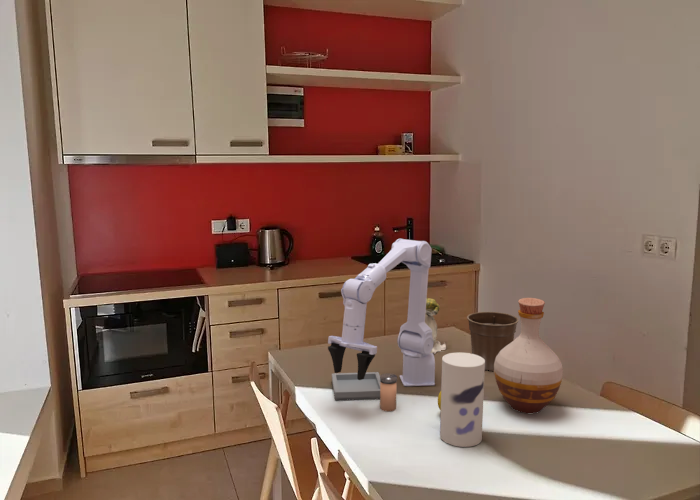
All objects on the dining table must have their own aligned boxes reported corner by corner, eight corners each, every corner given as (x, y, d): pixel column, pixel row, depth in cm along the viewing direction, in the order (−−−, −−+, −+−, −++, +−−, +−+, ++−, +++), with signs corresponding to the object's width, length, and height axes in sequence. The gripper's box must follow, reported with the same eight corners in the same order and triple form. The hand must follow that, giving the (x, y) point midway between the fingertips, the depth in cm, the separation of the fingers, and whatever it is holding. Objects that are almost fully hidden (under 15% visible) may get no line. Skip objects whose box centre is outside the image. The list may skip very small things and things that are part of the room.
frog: (403, 348, 203) (404, 299, 200) (425, 341, 212) (426, 293, 209) (429, 356, 195) (430, 305, 192) (450, 348, 204) (452, 298, 201)
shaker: (395, 404, 156) (395, 373, 155) (397, 411, 152) (398, 379, 150) (378, 404, 156) (378, 373, 154) (380, 412, 151) (381, 380, 150)
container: (457, 451, 131) (459, 368, 128) (431, 433, 140) (433, 355, 136) (490, 441, 135) (493, 361, 132) (463, 424, 144) (466, 349, 141)
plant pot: (460, 369, 183) (462, 321, 180) (470, 354, 197) (472, 309, 195) (512, 377, 176) (515, 327, 174) (518, 360, 191) (521, 314, 189)
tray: (378, 379, 174) (378, 372, 173) (385, 399, 160) (385, 390, 159) (331, 381, 172) (331, 373, 172) (334, 400, 158) (334, 392, 158)
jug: (495, 388, 167) (500, 289, 163) (560, 396, 161) (566, 294, 157) (489, 416, 149) (493, 305, 144) (561, 426, 143) (568, 311, 139)
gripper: (322, 321, 149) (318, 371, 150) (367, 331, 141) (362, 385, 141) (339, 318, 155) (334, 367, 156) (383, 328, 146) (378, 380, 147)
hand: (349, 375), depth 149 cm, fingers open, 7 cm apart
